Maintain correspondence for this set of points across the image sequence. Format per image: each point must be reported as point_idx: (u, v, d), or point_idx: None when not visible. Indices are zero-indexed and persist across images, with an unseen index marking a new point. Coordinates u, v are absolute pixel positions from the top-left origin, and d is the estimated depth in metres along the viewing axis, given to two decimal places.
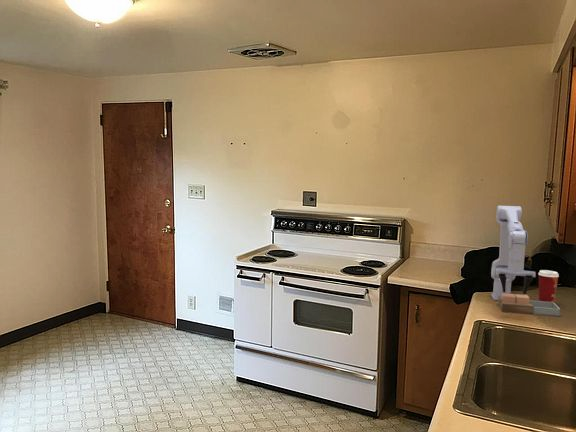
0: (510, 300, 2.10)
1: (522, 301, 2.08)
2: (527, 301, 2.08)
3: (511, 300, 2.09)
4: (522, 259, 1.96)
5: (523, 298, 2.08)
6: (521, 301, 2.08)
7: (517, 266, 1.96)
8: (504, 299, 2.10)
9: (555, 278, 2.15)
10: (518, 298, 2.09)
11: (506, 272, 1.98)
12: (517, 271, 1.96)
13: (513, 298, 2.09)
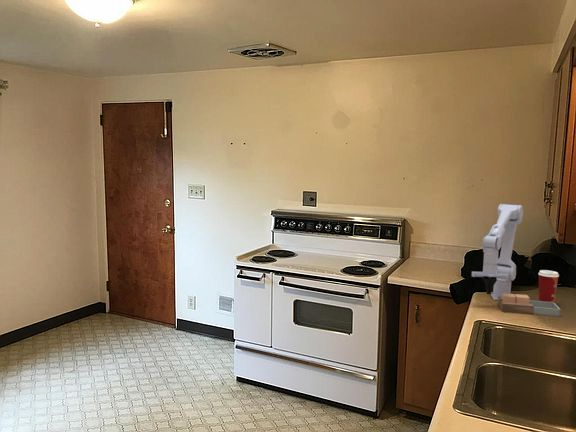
0: (510, 300, 2.10)
1: (522, 301, 2.08)
2: (527, 301, 2.08)
3: (511, 300, 2.09)
4: (493, 262, 2.10)
5: (523, 298, 2.08)
6: (521, 301, 2.08)
7: (491, 269, 2.10)
8: (504, 299, 2.10)
9: (555, 278, 2.15)
10: (518, 298, 2.09)
11: (481, 274, 2.12)
12: (491, 273, 2.10)
13: (513, 298, 2.09)
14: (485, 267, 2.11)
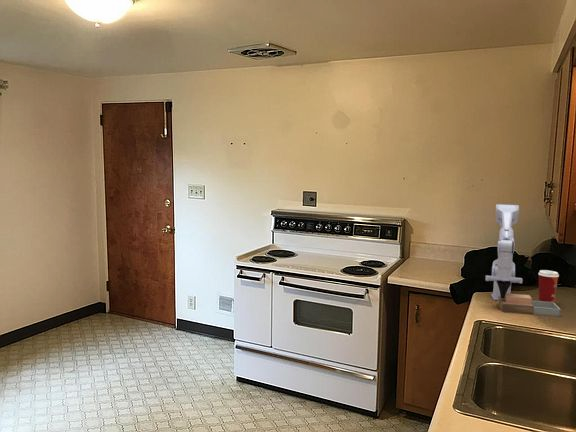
0: (513, 300, 2.09)
1: (524, 301, 2.08)
2: (529, 301, 2.08)
3: (514, 300, 2.09)
4: (509, 266, 2.08)
5: (525, 298, 2.08)
6: (523, 301, 2.08)
7: (505, 273, 2.09)
8: (507, 299, 2.10)
9: (555, 278, 2.15)
10: (520, 298, 2.08)
11: (495, 278, 2.11)
12: (505, 277, 2.09)
13: (516, 298, 2.09)
14: (499, 271, 2.10)
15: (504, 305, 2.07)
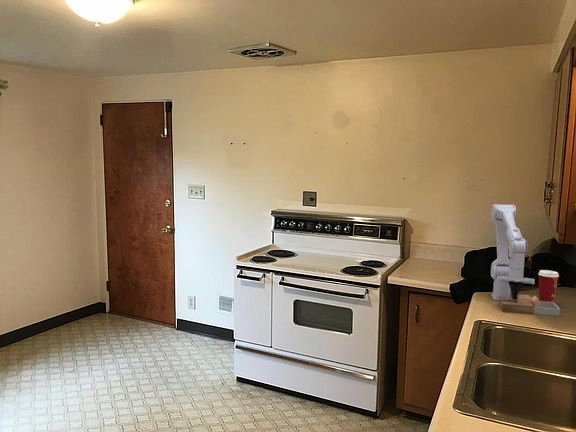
0: (525, 301, 2.08)
1: (536, 305, 2.07)
2: None
3: (526, 301, 2.08)
4: (522, 267, 2.08)
5: (540, 304, 2.07)
6: (536, 304, 2.07)
7: (517, 274, 2.07)
8: (519, 300, 2.09)
9: (555, 278, 2.15)
10: (537, 300, 2.07)
11: (507, 279, 2.10)
12: (517, 278, 2.08)
13: (528, 299, 2.08)
14: (511, 272, 2.09)
15: (504, 305, 2.07)
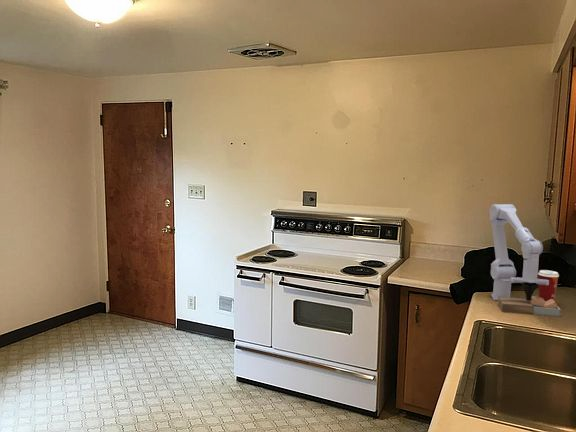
0: (539, 303, 2.07)
1: (550, 306, 2.06)
2: None
3: (540, 304, 2.07)
4: (537, 268, 2.07)
5: None
6: (551, 305, 2.05)
7: (531, 275, 2.06)
8: (533, 301, 2.07)
9: (555, 278, 2.15)
10: (555, 306, 2.05)
11: (521, 280, 2.08)
12: (531, 279, 2.06)
13: (542, 302, 2.06)
14: (525, 273, 2.08)
15: (504, 305, 2.07)
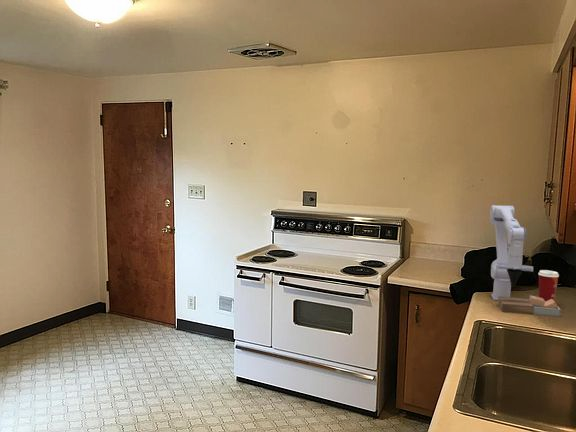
0: (539, 303, 2.07)
1: (550, 306, 2.06)
2: None
3: (540, 304, 2.07)
4: (521, 254, 2.07)
5: None
6: (551, 305, 2.05)
7: (516, 261, 2.07)
8: (533, 301, 2.07)
9: (555, 278, 2.15)
10: (555, 306, 2.05)
11: (505, 267, 2.09)
12: (516, 266, 2.07)
13: (542, 302, 2.06)
14: (510, 259, 2.09)
15: (504, 305, 2.07)
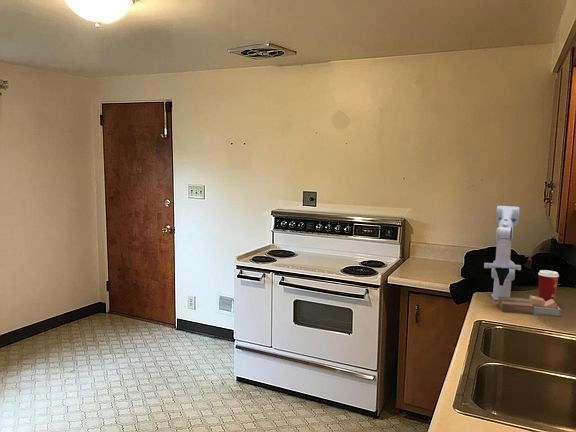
0: (539, 303, 2.07)
1: (550, 306, 2.06)
2: None
3: (540, 304, 2.07)
4: (507, 253, 2.09)
5: None
6: (551, 305, 2.05)
7: (504, 260, 2.09)
8: (533, 301, 2.07)
9: (555, 278, 2.15)
10: (555, 306, 2.05)
11: (493, 265, 2.11)
12: (504, 264, 2.09)
13: (542, 302, 2.06)
14: (498, 258, 2.11)
15: (504, 305, 2.07)
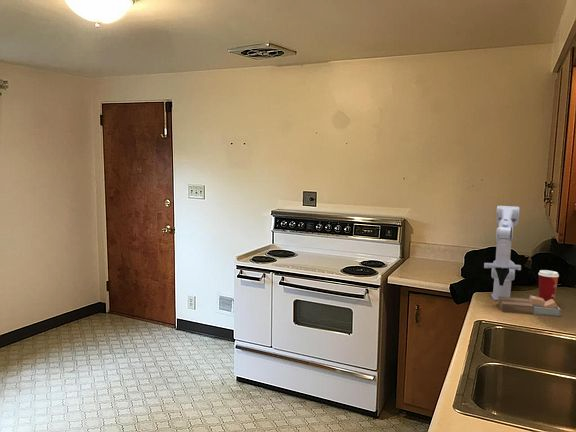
0: (539, 303, 2.07)
1: (550, 306, 2.06)
2: None
3: (540, 304, 2.07)
4: (507, 253, 2.09)
5: None
6: (551, 305, 2.05)
7: (504, 260, 2.09)
8: (533, 301, 2.07)
9: (555, 278, 2.15)
10: (555, 306, 2.05)
11: (493, 265, 2.11)
12: (504, 264, 2.09)
13: (542, 302, 2.06)
14: (498, 258, 2.11)
15: (504, 305, 2.07)
